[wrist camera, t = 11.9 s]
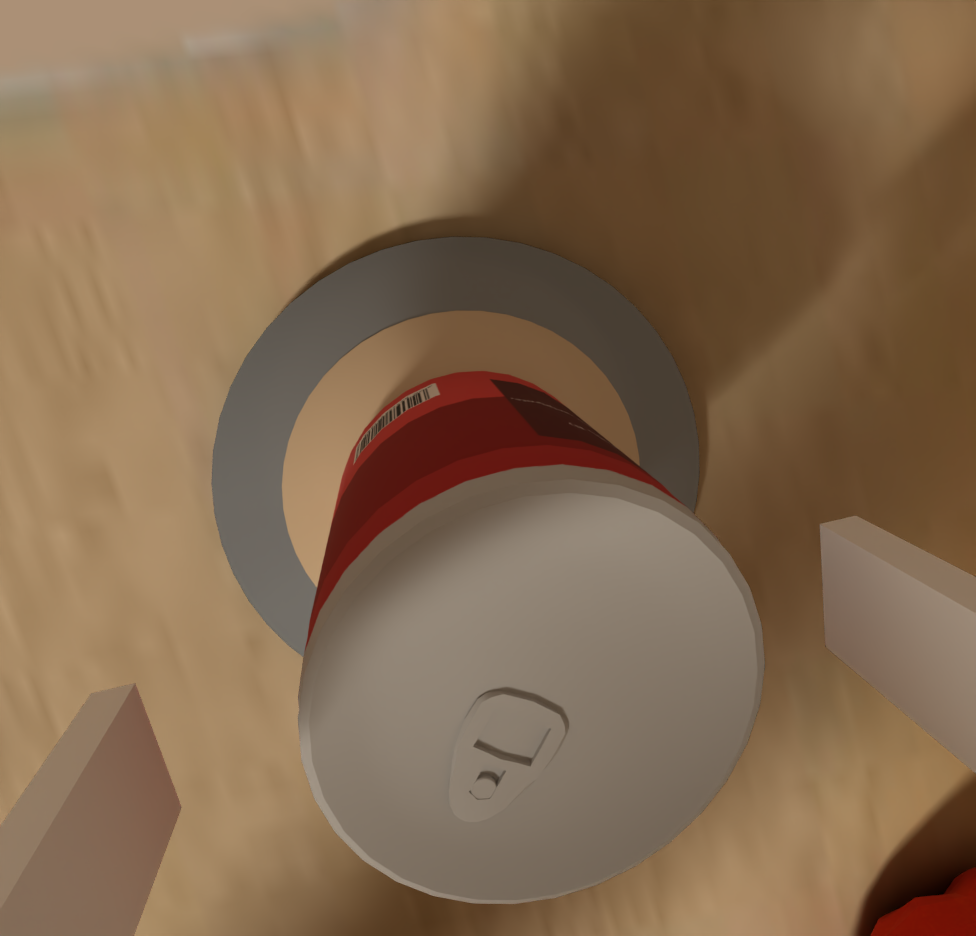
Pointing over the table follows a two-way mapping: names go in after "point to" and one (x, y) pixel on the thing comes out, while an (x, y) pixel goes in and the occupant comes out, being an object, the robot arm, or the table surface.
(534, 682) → the canned food
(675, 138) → the table surface
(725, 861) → the table surface
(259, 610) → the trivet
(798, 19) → the table surface
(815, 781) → the table surface
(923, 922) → the tomato
